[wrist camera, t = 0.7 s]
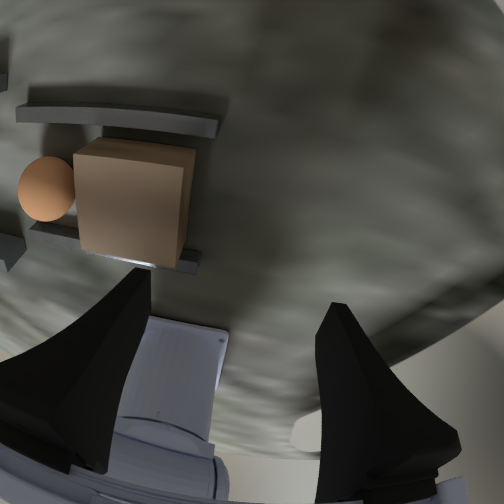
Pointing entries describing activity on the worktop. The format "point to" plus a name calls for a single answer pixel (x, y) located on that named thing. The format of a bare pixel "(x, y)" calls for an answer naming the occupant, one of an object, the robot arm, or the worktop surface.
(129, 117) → the rails
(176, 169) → the brown square block
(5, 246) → the tray
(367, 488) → the robot arm
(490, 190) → the worktop surface
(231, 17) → the worktop surface
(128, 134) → the worktop surface
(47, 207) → the ball
